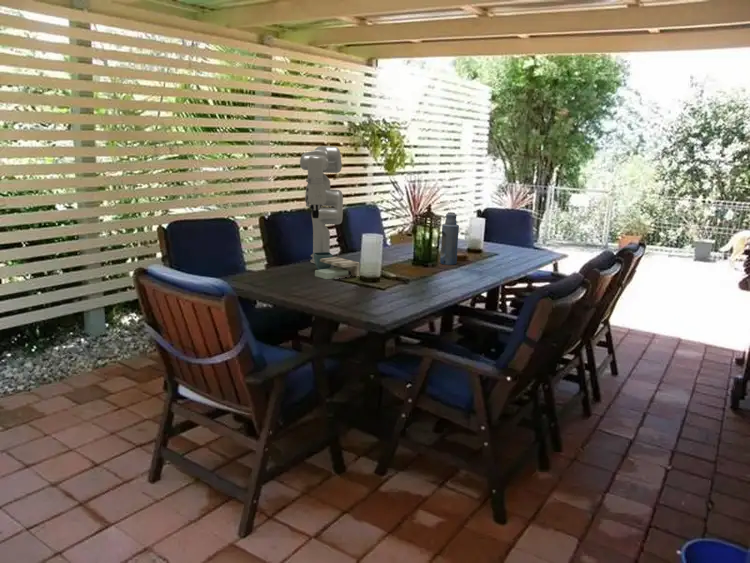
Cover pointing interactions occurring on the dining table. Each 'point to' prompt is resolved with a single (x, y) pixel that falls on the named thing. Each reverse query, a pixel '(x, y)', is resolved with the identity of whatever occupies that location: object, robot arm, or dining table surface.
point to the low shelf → (343, 265)
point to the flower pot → (319, 256)
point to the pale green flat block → (330, 273)
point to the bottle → (449, 240)
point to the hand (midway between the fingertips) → (315, 217)
